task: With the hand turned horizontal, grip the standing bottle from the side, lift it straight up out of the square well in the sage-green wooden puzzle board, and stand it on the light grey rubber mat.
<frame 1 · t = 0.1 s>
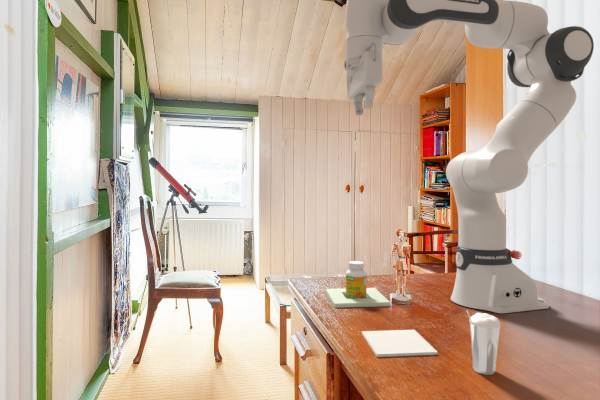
hand: (363, 111, 98), 48 cm above the table, tool pointing down, fingers open, 8 cm apart
supplement bottle: (356, 299, 106), resting in well board
well board: (356, 298, 106), on the table
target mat: (397, 343, 76), on the table
milkshake: (481, 371, 65), on the table
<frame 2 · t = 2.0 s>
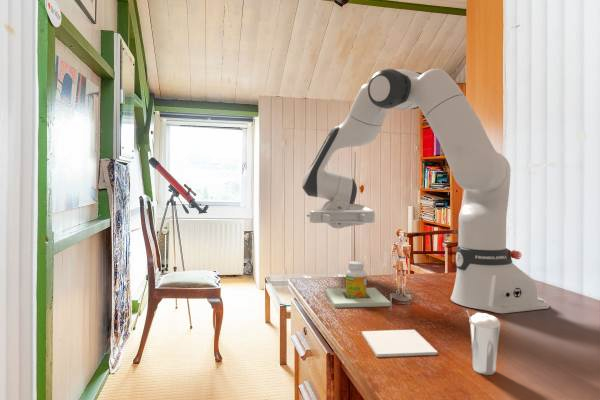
hand: (346, 218, 117), 20 cm above the table, tool horizontal, fingers open, 8 cm apart
nothing on the table moved.
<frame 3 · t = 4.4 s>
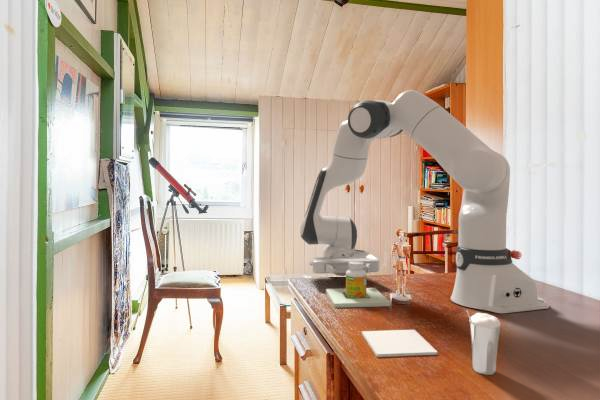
hand: (350, 270, 113), 6 cm above the table, tool horizontal, fingers open, 8 cm apart
nothing on the table moved.
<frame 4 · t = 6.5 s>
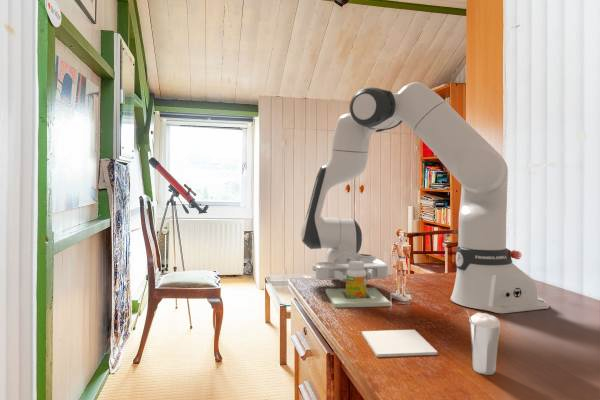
hand: (356, 276, 105), 6 cm above the table, tool horizontal, fingers closed on supplement bottle, 5 cm apart
supplement bottle: (356, 299, 106), resting in well board, touching gripper
everything else where it was.
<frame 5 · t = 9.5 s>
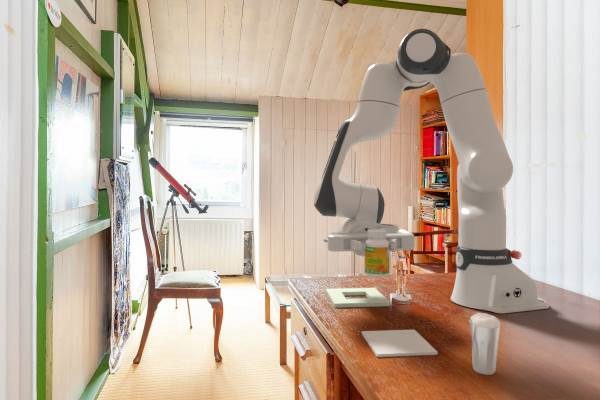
hand: (378, 246, 87), 17 cm above the table, tool horizontal, fingers closed on supplement bottle, 5 cm apart
supplement bottle: (376, 275, 88), point 10 cm above the table, touching gripper
everything else where it was.
when the fingers open (8 cm above the table, at t = 12.5 s): supplement bottle stays where it is, resting on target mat.
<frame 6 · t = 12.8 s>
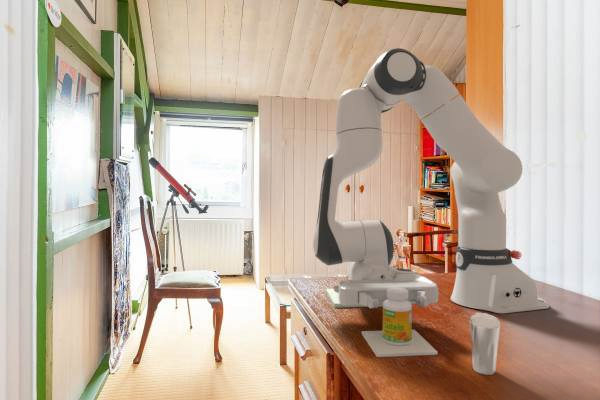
hand: (398, 303, 75), 8 cm above the table, tool horizontal, fingers open, 8 cm apart
supplement bottle: (397, 341, 76), resting on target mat
everything else where it was.
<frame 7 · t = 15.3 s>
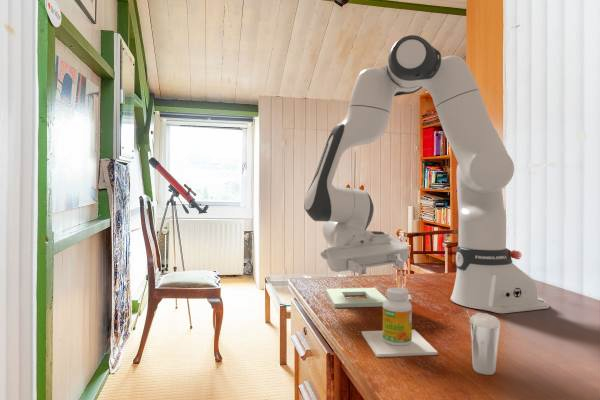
hand: (382, 268, 90), 11 cm above the table, tool horizontal, fingers open, 8 cm apart
nothing on the table moved.
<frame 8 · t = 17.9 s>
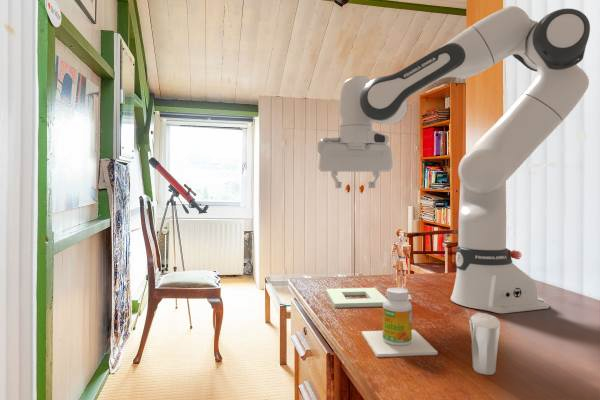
hand: (355, 188, 111), 29 cm above the table, tool pointing down, fingers open, 8 cm apart
nothing on the table moved.
at the end: supplement bottle inside the target area on the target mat (0.1 cm from its centre), point 0.3 cm above the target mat's base; supplement bottle tilted 0°; the gripper is holding nothing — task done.
